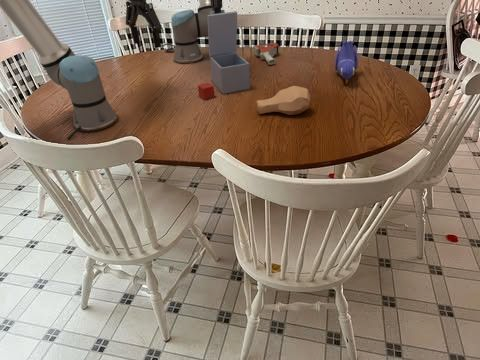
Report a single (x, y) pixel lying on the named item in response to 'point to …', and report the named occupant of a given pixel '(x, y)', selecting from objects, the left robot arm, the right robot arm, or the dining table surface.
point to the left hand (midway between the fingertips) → (147, 45)
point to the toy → (346, 60)
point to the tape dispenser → (266, 52)
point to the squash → (286, 101)
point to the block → (206, 91)
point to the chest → (230, 73)
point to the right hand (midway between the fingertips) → (218, 24)
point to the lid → (222, 32)
